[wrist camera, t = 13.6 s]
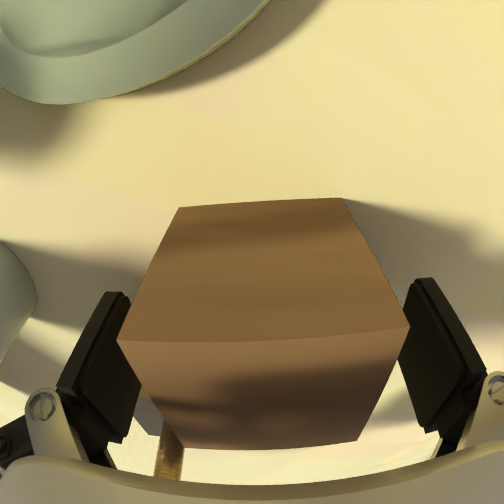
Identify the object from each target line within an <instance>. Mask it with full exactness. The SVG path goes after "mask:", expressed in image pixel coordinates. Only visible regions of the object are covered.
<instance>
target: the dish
mask: <svg viewBox="0 0 504 504" xmlns="http://www.w3.org/2000/svg"><path fill="white" fill-rule="evenodd" d="M269 2H270V0H0V86H1V87H2V88H4V89H5V90H7V91H8V92H10V93H11V94H13V95H15V96H18V97H20V98H23V99H25V100H28V101H33V102H38V103H43V104H60V105H63V104H74V103H84V102H88V101H93V100H97V99H102V98H107V97H111V96H116V95H121V94H124V93H127V92H131V91H134V90H137V89H141V88H144V87H147V86H149V85H151V84H154V83H156V82H159V81H161V80H164V79H166V78H168V77H170V76H172V75H174V74H176V73H178V72H180V71H182V70H184V69H186V68H188V67H190V66H192V65H193V64H195V63H196V62H198V61H200V60H201V59H203V58H204V57H206V56H208V55H209V54H211V53H213V52H214V51H215V50H217V49H218V48H219V47H221V46H222V45H223V44H225V43H226V42H227V41H229V40H230V39H232V38H233V37H234V36H235V35H236V34H237V33H239V32H240V31H241V30H242V29H243V28H244V27H245V26H246V25H248V24H249V23H250V22H251V21H252V20H253V19H254V18H255V17H256V16H257V15H258V14H259V13H260V12H261V10H262V9H263V8H264V7H265V6H266V5H267V4H268V3H269Z"/></svg>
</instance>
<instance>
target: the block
mask: <svg viewBox="0 0 504 504" xmlns="http://www.w3.org/2000/svg"><path fill="white" fill-rule="evenodd" d="M409 328H410V325H409V323H408V321H407V319H406V316H405V314H404V312H403V310H402V308H401V306H400V304H399V302H398V300H397V298H396V296H395V294H394V292H393V290H392V288H391V286H390V284H389V282H388V280H387V278H386V276H385V274H384V273H383V271H382V269H381V267H380V265H379V263H378V261H377V260H376V258H375V256H374V254H373V252H372V250H371V249H370V247H369V245H368V243H367V242H366V240H365V238H364V236H363V235H362V233H361V231H360V229H359V228H358V226H357V224H356V223H355V221H354V219H353V217H352V216H351V214H350V212H349V211H348V209H347V208H346V206H345V204H344V203H343V201H342V199H341V198H318V199H295V200H275V201H258V202H242V203H228V204H215V205H203V206H191V207H180V208H178V210H177V212H176V214H175V216H174V218H173V220H172V222H171V224H170V226H169V228H168V229H167V231H166V233H165V235H164V237H163V239H162V241H161V243H160V245H159V247H158V249H157V251H156V253H155V255H154V257H153V259H152V261H151V264H150V266H149V268H148V270H147V272H146V274H145V276H144V278H143V280H142V283H141V285H140V287H139V289H138V291H137V293H136V296H135V298H134V300H133V302H132V305H131V307H130V309H129V311H128V314H127V316H126V318H125V321H124V323H123V325H122V328H121V330H120V332H119V335H118V337H117V342H118V344H119V346H120V348H121V350H122V351H123V353H124V355H125V357H126V359H127V360H128V362H129V364H130V366H131V367H132V369H133V371H134V372H135V374H136V376H137V378H138V379H139V381H140V382H141V384H142V386H143V387H144V389H145V391H146V392H147V394H148V395H149V397H150V398H151V400H152V402H153V403H154V405H155V406H156V408H157V409H158V411H159V412H160V414H161V415H162V417H163V418H164V419H165V421H166V422H167V424H168V425H169V427H170V428H171V429H172V431H173V432H174V434H175V435H176V436H177V438H178V439H179V440H180V442H181V443H182V444H183V446H184V447H185V448H197V449H215V450H272V449H291V448H304V447H314V446H323V445H331V444H339V443H346V442H352V441H357V439H358V437H359V436H360V434H361V432H362V430H363V429H364V427H365V425H366V423H367V421H368V419H369V417H370V416H371V414H372V412H373V410H374V408H375V406H376V404H377V402H378V400H379V398H380V396H381V394H382V392H383V390H384V387H385V385H386V383H387V381H388V379H389V377H390V374H391V372H392V370H393V368H394V365H395V363H396V361H397V358H398V356H399V354H400V351H401V349H402V346H403V344H404V341H405V339H406V336H407V333H408V331H409Z"/></svg>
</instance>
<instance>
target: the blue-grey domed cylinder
mask: <svg viewBox="0 0 504 504" xmlns="http://www.w3.org/2000/svg"><path fill="white" fill-rule="evenodd" d="M36 303H37V296H36V291H35V287H34V284H33V282H32V280H31V277H30V276H29V274H28V272H27V270H26V269H25V267H24V266H23V264H22V263H21V261H20V260H19V259H18V258H17V256H16V255H15V254H14V253H13V252H12V251H11V250H10V249H9V248H8V247H6V246H5V245H4V244H2V243H1V242H0V364H1V362H2V360H3V358H4V357H5V355H6V353H7V351H8V350H9V348H10V346H11V345H12V343H13V341H14V340H15V338H16V336H17V335H18V333H19V332H20V330H21V329H22V327H23V325H24V324H25V322H26V321H27V319H28V318H29V316H30V315H31V313H32V312H33V310H34V309H35V307H36Z"/></svg>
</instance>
